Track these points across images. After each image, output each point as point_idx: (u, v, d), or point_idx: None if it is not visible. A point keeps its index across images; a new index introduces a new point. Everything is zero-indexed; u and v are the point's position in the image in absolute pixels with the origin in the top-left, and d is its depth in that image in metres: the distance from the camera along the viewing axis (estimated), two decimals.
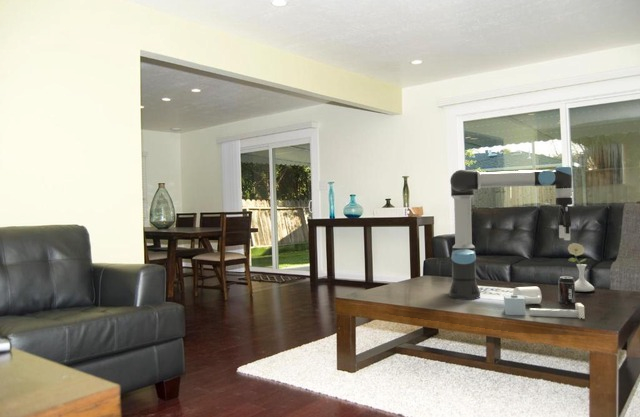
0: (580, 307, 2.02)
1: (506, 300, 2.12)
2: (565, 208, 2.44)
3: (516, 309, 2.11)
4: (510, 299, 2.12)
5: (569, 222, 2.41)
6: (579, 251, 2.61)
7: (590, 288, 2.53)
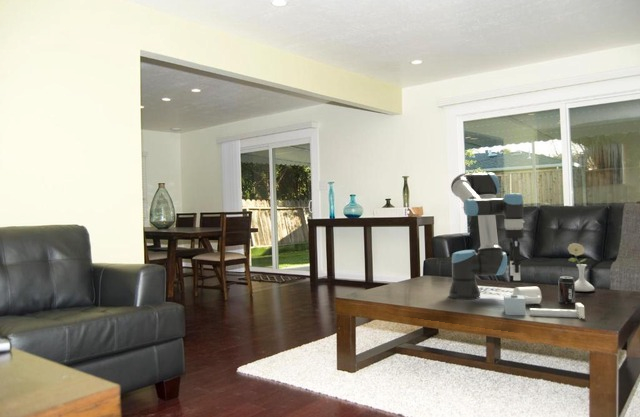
0: (580, 307, 2.02)
1: (506, 300, 2.12)
2: (514, 243, 2.09)
3: (516, 309, 2.11)
4: (510, 299, 2.12)
5: (518, 260, 2.06)
6: (579, 251, 2.61)
7: (590, 288, 2.53)
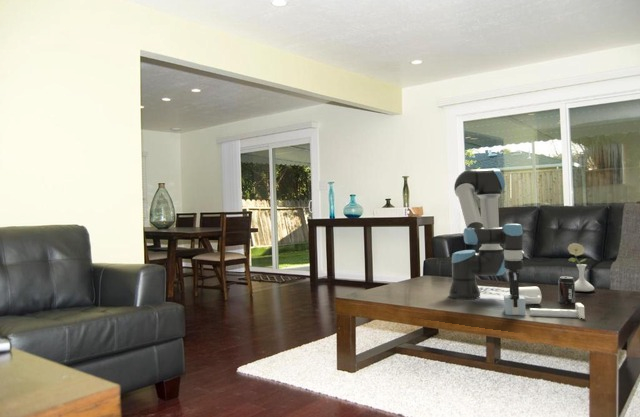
0: (580, 307, 2.02)
1: (506, 300, 2.12)
2: (513, 277, 2.08)
3: None
4: (510, 299, 2.12)
5: (517, 295, 2.08)
6: (579, 251, 2.61)
7: (590, 288, 2.53)
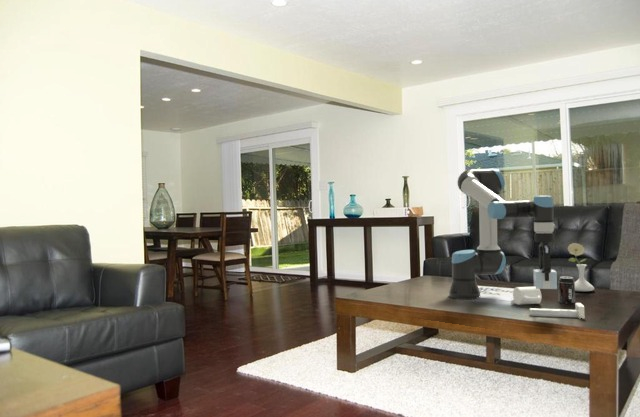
0: (580, 307, 2.02)
1: (537, 274, 2.06)
2: (545, 250, 2.02)
3: None
4: (541, 273, 2.05)
5: (549, 268, 2.01)
6: (579, 251, 2.61)
7: (590, 288, 2.53)
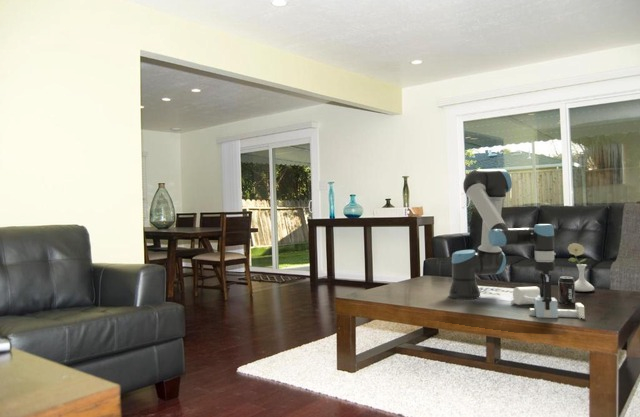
0: (580, 307, 2.02)
1: (537, 302, 2.06)
2: (546, 279, 2.02)
3: None
4: None
5: (549, 297, 2.02)
6: (579, 251, 2.61)
7: (590, 288, 2.53)
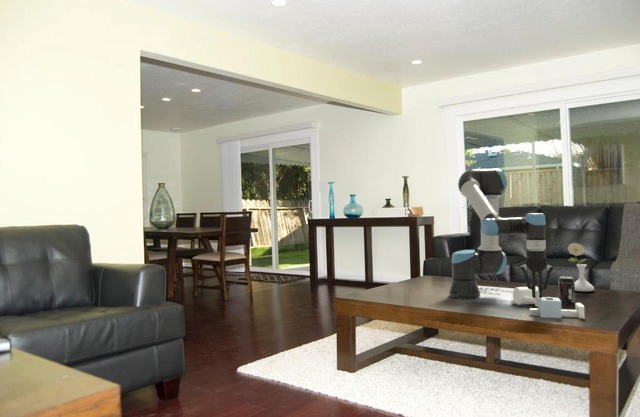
0: (580, 307, 2.02)
1: (541, 302, 2.06)
2: (521, 268, 2.12)
3: (551, 311, 2.05)
4: (545, 301, 2.05)
5: (527, 285, 2.10)
6: (579, 251, 2.61)
7: (590, 288, 2.53)
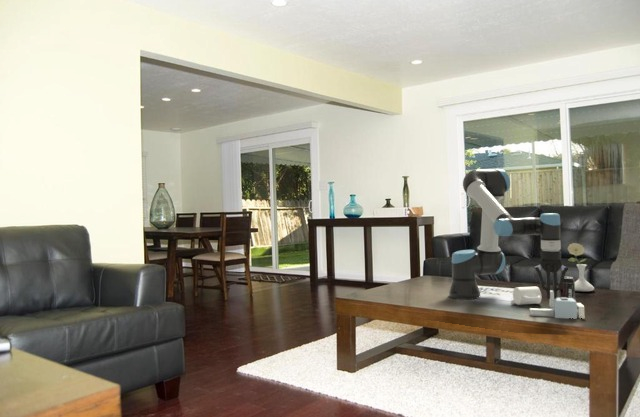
0: (580, 307, 2.02)
1: (556, 303, 2.04)
2: None
3: (566, 312, 2.03)
4: (560, 302, 2.04)
5: (541, 286, 2.08)
6: (579, 251, 2.61)
7: (590, 288, 2.53)
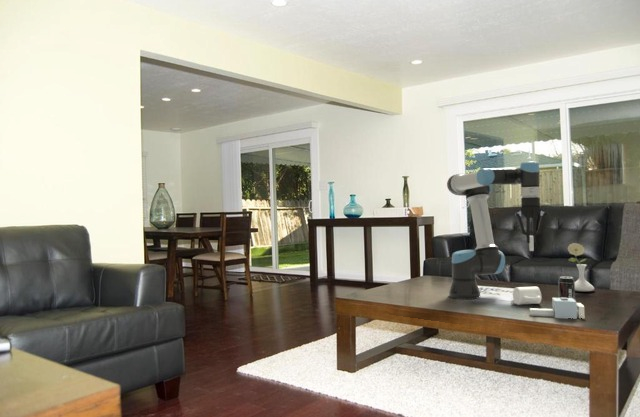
0: (580, 307, 2.02)
1: (556, 303, 2.04)
2: None
3: (566, 312, 2.03)
4: (560, 302, 2.04)
5: (521, 231, 2.18)
6: (579, 251, 2.61)
7: (590, 288, 2.53)
